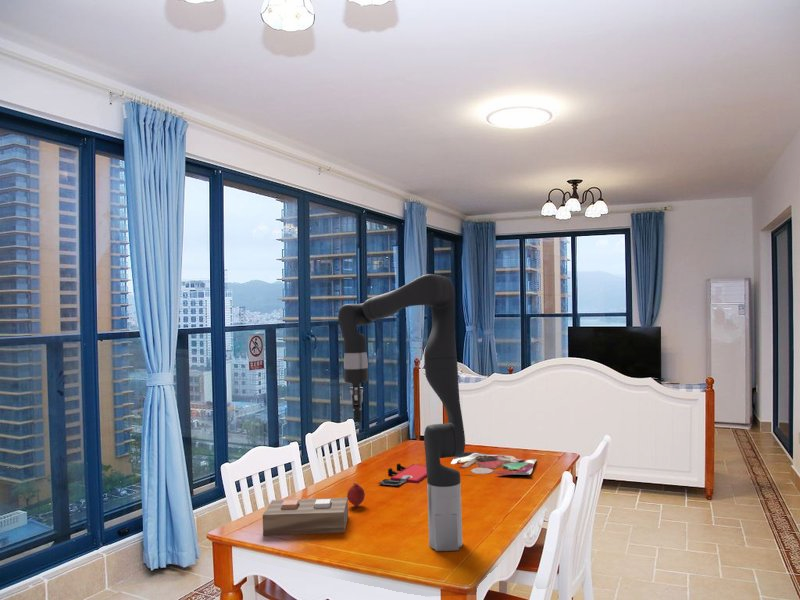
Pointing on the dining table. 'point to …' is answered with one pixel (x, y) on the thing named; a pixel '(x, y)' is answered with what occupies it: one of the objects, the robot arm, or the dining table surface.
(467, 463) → the multicolored flat sheet
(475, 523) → the dining table surface
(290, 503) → the key terracotta
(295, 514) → the wooden button box
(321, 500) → the white cube
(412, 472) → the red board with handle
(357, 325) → the robot arm
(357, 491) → the onion
